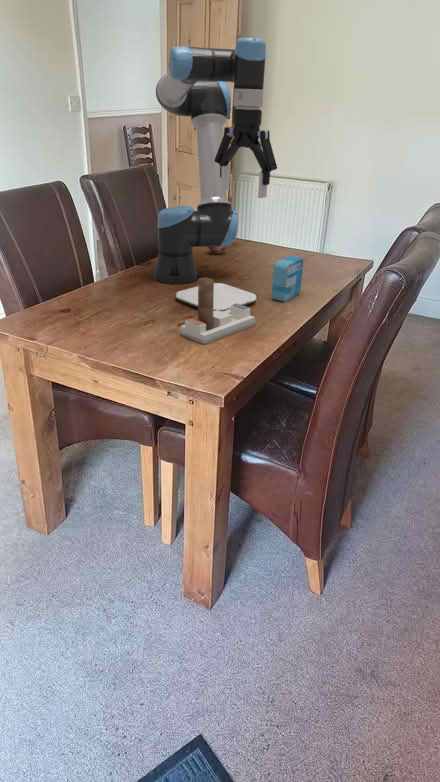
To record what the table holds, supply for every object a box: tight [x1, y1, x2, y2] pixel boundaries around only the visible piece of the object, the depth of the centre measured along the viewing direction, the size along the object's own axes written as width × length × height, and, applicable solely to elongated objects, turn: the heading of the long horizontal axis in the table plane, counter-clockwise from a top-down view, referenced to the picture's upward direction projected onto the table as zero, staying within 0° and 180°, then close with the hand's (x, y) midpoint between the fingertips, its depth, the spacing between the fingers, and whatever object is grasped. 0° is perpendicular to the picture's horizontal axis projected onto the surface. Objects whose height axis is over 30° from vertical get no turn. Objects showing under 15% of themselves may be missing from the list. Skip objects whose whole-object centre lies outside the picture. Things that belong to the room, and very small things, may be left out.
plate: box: [175, 282, 257, 312], centre depth 176 cm, size 21×21×2 cm
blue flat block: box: [271, 255, 304, 303], centre depth 179 cm, size 12×4×12 cm, turn 147°
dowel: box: [197, 277, 215, 331], centre depth 148 cm, size 4×4×14 cm
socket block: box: [179, 303, 256, 346], centre depth 154 cm, size 9×20×5 cm, turn 137°
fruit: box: [207, 246, 228, 255], centre depth 225 cm, size 8×8×8 cm
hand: (243, 194), depth 156 cm, fingers open, 13 cm apart
